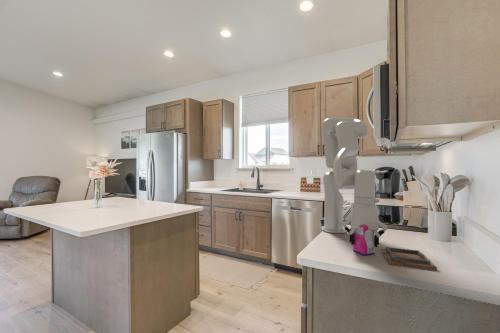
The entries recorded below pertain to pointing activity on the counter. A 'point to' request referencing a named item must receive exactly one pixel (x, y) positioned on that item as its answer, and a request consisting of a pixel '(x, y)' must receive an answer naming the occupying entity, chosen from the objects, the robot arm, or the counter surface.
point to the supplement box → (364, 241)
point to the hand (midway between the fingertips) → (363, 244)
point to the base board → (407, 258)
